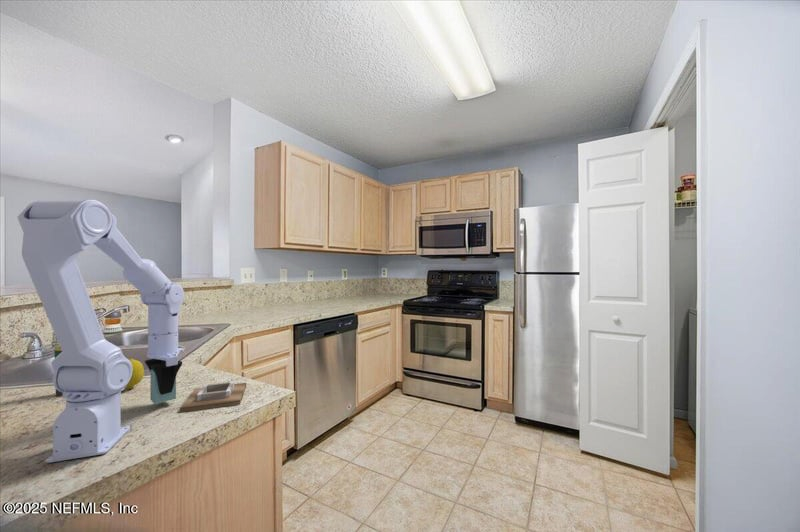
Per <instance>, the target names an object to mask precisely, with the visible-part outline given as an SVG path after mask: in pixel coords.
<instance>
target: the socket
mask: <svg viewBox="0 0 800 532" xmlns="http://www.w3.org/2000/svg"><path fill="white" fill-rule="evenodd" d="M246 388H247V382H241V383H235V381H228V382H220V383H218V382H217V383H209V384H203V385H202V387H198V388H197V387H196V388H194V389H193V391H192V392H191V393H190V395H188V397H187V398H186V400H185V401H184V403H182V405H181V406H180V407H179V410H180V413H185V412H192V411H199V410H208V409H214V408H222V407H230V406H236V405H241V402H242V400H243V398H244V395H245V392H246Z"/></svg>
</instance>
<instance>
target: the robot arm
mask: <svg viewBox="0 0 800 532" xmlns="http://www.w3.org/2000/svg"><path fill="white" fill-rule="evenodd" d="M17 220H18V223H19V225H20V227H21V230H22V233H23V234H22V235H23V237H22V245H21V257H22V259H23V262H24V265H25V267H26V269H27V272H28V274H29V276H30V279H31V281H32V283H33V285H34V288H35V290H36V293H37V295H38V297H39V300H40V302H41V304H42V307H43V309H44V311H45V314H46V317H47V319H48V321H49V323H50V326H51V328H52V331H53V333H54V336H55V337H56V341H57V342H58V344H59V345H60V347H61V350H62V352H61V353H60V354H59V355H58V356H57V357H56V358H55V357H54V359H52V361H51V365H52V368H53V375H52V376H53V377H52V383H53V384H52V385H53V387H54V388H55V390H56V389H57V390H58V391H60V392H63V395H62V399H65V407H64V409H63V411H61V413H59V415H58V416H57V417H56V418H55V419H54V422H53V426H52V432H53V433H52V455H51V456H49V457H48V458H47V459H45V464H49V463H54V462H55V463H56V462H63V461H67V460H74V459H80V458H86V457H92V456H99V455H103V454H106V453H108V452H109V450H110V449H111V448H113V447H114V445H115V444H117V443H118V442H119V440H121V439H122V437H123V436H124V435H126V433H127V432H128V431H129V430H130V429H131V426H130V425H126V426H121V424H122V423H121V421H122V419H121V414H122V412H121V408H122V407H121V404H122V400H121V396H122V395H121V394H122V391H124V390H125V388H126V387H125V386H126V385H127V384H128V382H129V380H130V378H131V376H132V371H133V368H132V364H131V362H130V361H129V358H127V357H126V356H124V354H123V351H122V348H121V347H118V346H117V345H115V344H114V343H112V342H109V341H108V340H107V339H106V338H105V336H104V333H103V330H102V327H101V325H100V322H99V320H98V317H97V313H96V311H95V309H94V306H93V302H92V300H91V297H90V295H89V292H88V290H87V286H86V283H85V281H84V279H83V276H82V274H81V271H80V267H79V264H78V262H77V258H78V257H79V255H80V254H81V253H82V252H84V251H85V250H86V249H88V248H89V247H91V246H92V245H94V246H96V247H97V248H98V249H99V250H100V251H102V253H104V254H106V256H108V257H109V258H110V259H112V260H113V261H114V262H115V263H117V264H118V265H119V266H120V267H121V268H123V270H122V276H123V278H124V279H125V280H126V281H128V282H129V283H130V284H131V285H132V286H133V287H135V289H137V291H138V293H139V295H140V301H141V302H142V304H144V305H146V306H148V307H147V316H148V318H147V320H148V321H147V353H146V358H148V359H146V360H144V364H145V365H146V366H147V368H148V371H149V373H150V374H151V369H153V371H154V372H155V375H156V378H157V382H158V388H159V392H160V394H161V395H162V394H166V393H170V392H172V389H173V386H174V382H175V378H176V379H177V375H178V373H179V371H180V369H181V367H182V366H183V361H182V360H178V359H179V358H178V355H179V353H183V352H185V349H184V348H183V347H179V313H181V311H182V304H183V302H184V299H185V296H186V293H185V292H184V288H183V287H182V286H181V285H180V284H179V283H177V282H174V281H171V280H170V279H169V278H168V277H167V276H166V275H165V274H164V272H163V271H162V270H161V269H160V268H159V267H158V266H157V263H156V262H155V261H154V260H151V259H148V258H141V257H140V255H139V254H138V253H137V251H135V249H134V248H133V247H132V246H131V244H130V243H129V241H127V239H126V238H125V237H124V235H123V234H122V233H121V232H120V230H119V229H118V228H117V224H118V223H117V221H118V220H117V217H116V216H115V215H113V213H111V210H109V208H108V207H107V206H106V205H105V204H104V203H102V202H100V201H99V200H96V199H83V200H47V199H46V200H45V199H40V200H36V201H33V202H30V203H29V204H28V205H27V206H26V207H25V208H24V209H23V210H22V211H21V212H20V213H19V215H17Z"/></svg>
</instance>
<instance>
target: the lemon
mask: <svg viewBox="0 0 800 532" xmlns="http://www.w3.org/2000/svg"><path fill="white" fill-rule="evenodd" d="M128 360H129V361H130V362H131V364H132V368H133V371H132V376H131V378H130V380H129V382H128V384H127V385H126V386H125V387H124V388H127V389H128V390H129V389H133V388H134V387H135V386H137V385H138V384H139V383H140V382H141V381H142V380H143V378H144V375H145V369H144V365H143V364H142V362H140V361H139V360H138V359H133V358H128Z"/></svg>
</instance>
